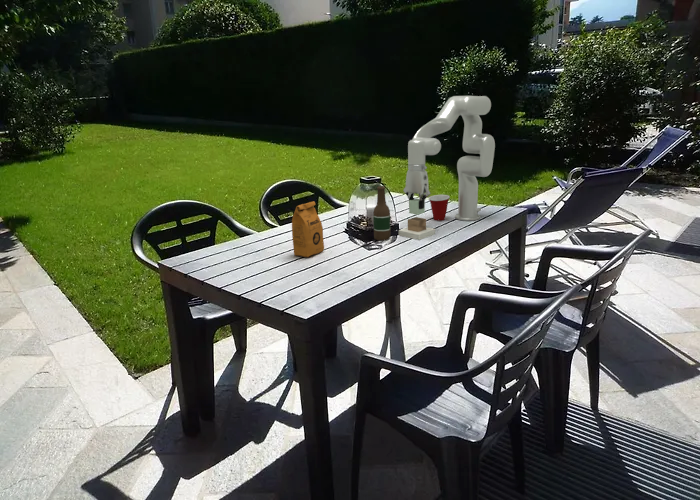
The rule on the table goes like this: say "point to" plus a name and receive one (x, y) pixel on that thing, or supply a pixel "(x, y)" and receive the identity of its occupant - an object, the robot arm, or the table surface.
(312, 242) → the coffee package
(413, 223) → the walnut block
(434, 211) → the plastic cup
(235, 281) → the table surface
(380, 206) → the beer bottle
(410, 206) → the sage block
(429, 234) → the base slab
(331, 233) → the table surface
